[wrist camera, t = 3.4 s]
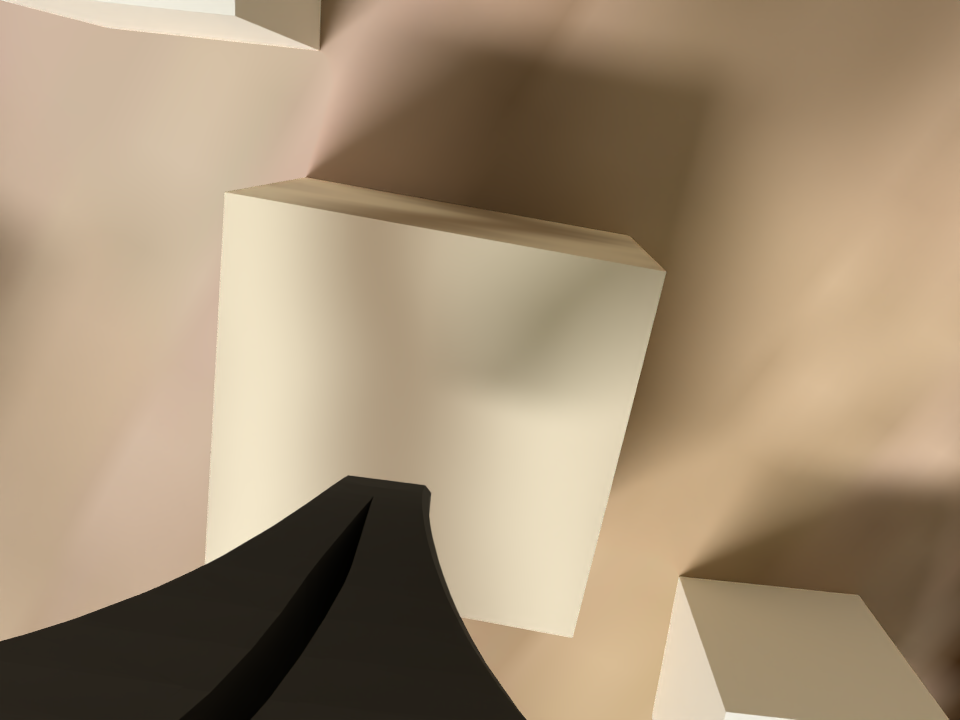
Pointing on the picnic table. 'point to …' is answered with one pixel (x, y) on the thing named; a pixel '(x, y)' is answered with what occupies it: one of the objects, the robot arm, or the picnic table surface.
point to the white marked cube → (782, 658)
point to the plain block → (429, 379)
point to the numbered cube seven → (201, 18)
